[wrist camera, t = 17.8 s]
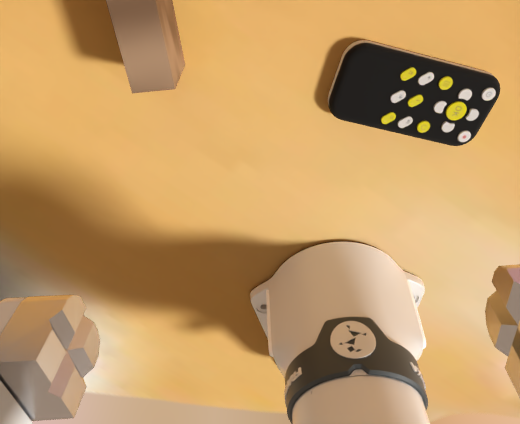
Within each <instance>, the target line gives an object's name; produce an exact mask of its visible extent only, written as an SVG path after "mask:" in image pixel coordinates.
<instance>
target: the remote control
mask: <svg viewBox="0 0 520 424" xmlns="http://www.w3.org/2000/svg"><path fill="white" fill-rule="evenodd" d="M499 93H500V84H499V82H498V80H497V79H496V78H495V77H494V76H493V75H492V74H491V73H488V72H486V71H483V70H479V69H475V68H472V67H468V66H464V65H460V64H456V63H452V62H449V61H445V60H441V59H437V58H433V57H430V56H426V55H422V54H418V53H414V52H411V51H407V50H403V49H399V48H395V47H391V46H388V45H384V44H380V43H376V42H372V41H368V40H359V41H356V42H354V43H352V44H351V45H349V46H348V47H347V48H346V50H345V51H344V53H343V55H342V57H341V60H340V63H339V66H338V69H337V71H336V74H335V77H334V80H333V83H332V86H331V89H330V91H329V95H328V105H329V108H330V111H331V113H332V114H333V115H334V116H335V117H336V118H338V119H341V120H344V121H349V122H353V123H357V124H362V125H366V126H370V127H374V128H379V129H383V130H387V131H392V132H396V133H400V134H404V135H409V136H413V137H417V138H422V139H426V140H430V141H434V142H439V143H443V144H447V145H452V146H459V145H463V144H466V143H467V142H469V141H471V140H472V139H473V138H474V137H475V135H476V134H477V132H478V131H479V129H480V127H481V126H482V124H483V122H484V120H485V119H486V117H487V115H488V114H489V112H490V110H491V109H492V107H493V105H494V104H495V102H496V100H497V98H498V96H499Z"/></svg>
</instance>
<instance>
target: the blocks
mask: <svg viewBox="0 0 520 424" xmlns="http://www.w3.org/2000/svg"><path fill="white" fill-rule="evenodd" d="M106 2H107V6H108V9H109V13H110V16H111V20H112V23H113V27H114V30H115V34H116V38H117V41H118V45H119V48H120V52H121V55H122V59H123V62H124V66H125V69H126V73H127V76H128V80H129V84H130V87H131V91H132V93H140V92H150V91H160V90H171V89H175V88H176V86H177V83H178V81H179V78H180V76H181V74H182V71H183V69H184V67H185V61H184V56H183V51H182V46H181V42H180V37H179V32H178V27H177V22H176V17H175V12H174V7H173V2H172V0H106Z"/></svg>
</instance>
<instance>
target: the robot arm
mask: <svg viewBox="0 0 520 424" xmlns="http://www.w3.org/2000/svg"><path fill="white" fill-rule="evenodd" d="M492 283H493V285H494V286H495V288H496V290H497V291H496V292H494V293H493V294H492V295H491V296H490V297H489V298H488V299H487V304H486V310H485V314H486V325H487V328H488V332H489V335H490V337H491V340H492V342H493V344H494V346H495V347H496V348H497V349H498V350H500V351H501V352H503V353H504V354H505V355H507V356H508V359H507V362H506V366H505V369H506V371H507V373H508V375H509V377H510V379H511V381H512V383H513V385H514V387H515V389H516V391H517V393H518V395H519V397H520V265H506V266H498V268H497V269H496V270H495V271H494V275H493V279H492ZM424 292H425V288H424V283H423V281H422V280H421V279H420V278H419V277H417V276H415V275H412V274H410V273H407V272H405V271H403V270H402V269H401V268H400V267H399V266H398V265H397V264H396V263H395V261H394V260H393V259H392V258H391V257H389V256H388V255H387V254H386V253H384V252H382V251H381V250H379V249H377V248H374V247H372V246H369V245H365V244H361V243H355V242H330V243H324V244H320V245H316V246H313V247H310V248H307V249H305V250H303V251H300V252H299V253H297V254H295V255H293V256H292V257H291V258H289V259H288V260H287V261H285V262H284V263H283V264H282V265H281V266H280V268H279V269H278V270H277V271H276V273H275V274H274V275H273V276H272V278H271V279H269V280H268V281H266V282H264V283H263V284H261V285H259V286H257V287H256V288H255V289H253V290H252V291H251V293H250V299H251V304H252V306H253V308H254V310H255V313H256V315H257V317H258V319H259V321H260V323H261V325H262V328H263V330H264V332H265V334H266V336H267V338H268V347H269V355H270V356H271V357H274V360H275V363H276V365H277V367H278V368H279V370H280V371H281V373H282V375H283V376H284V378H285V403H286V407H287V414H288V418H289V420H290V422H291V423H292V424H430V422H429V419H428V416H427V413H426V409H427V406H428V399H427V395H426V391H425V389H426V387H425V383H424V379H423V376H422V374H421V372H420V370H419V367H418V364H417V360H418V359H419V358H420V356H421V354H422V351H423V349H424V348H425V347H426V339H425V335H424V332H423V328H422V324H421V321H420V317H419V314H418V310H417V307H418V305H419V303H420V301H421V299H422V297H423V294H424ZM263 304H265V305H263ZM85 310H86V306H85V304H84V302H83V300H82V299H81V297H80V296H77V295H58V296H34V297H22V298H5V299H3V300H2V301H0V424H33V422H32V421H39V420H54V419H68V418H74V417H75V415H76V412H77V410H78V407H79V405H80V402H81V399H82V397H83V394H84V392H85V389H86V385H85V382H84V379H83V377H84V376H85V375H86V374H87V373H88V372H89V371H91V370H92V369H93V368H94V366H95V363H96V360H97V357H98V354H99V344H100V339H99V334H98V330H97V328H96V325H95V323H94V322H93V321H91V320H90V319H88V318H87V317H85V316H84V315H83V314H84V312H85Z"/></svg>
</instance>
